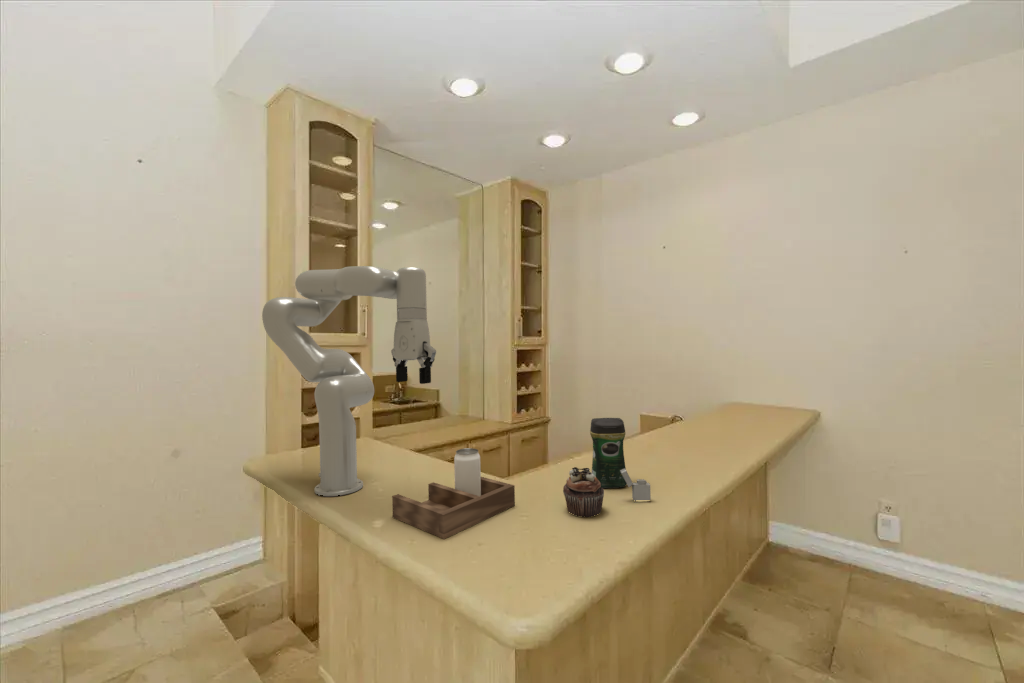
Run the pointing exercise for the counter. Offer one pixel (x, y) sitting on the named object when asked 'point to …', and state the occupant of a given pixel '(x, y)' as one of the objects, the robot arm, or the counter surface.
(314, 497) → the counter surface
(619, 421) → the coffee jar
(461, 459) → the can
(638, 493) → the lighter
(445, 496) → the tray
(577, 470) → the cupcake
